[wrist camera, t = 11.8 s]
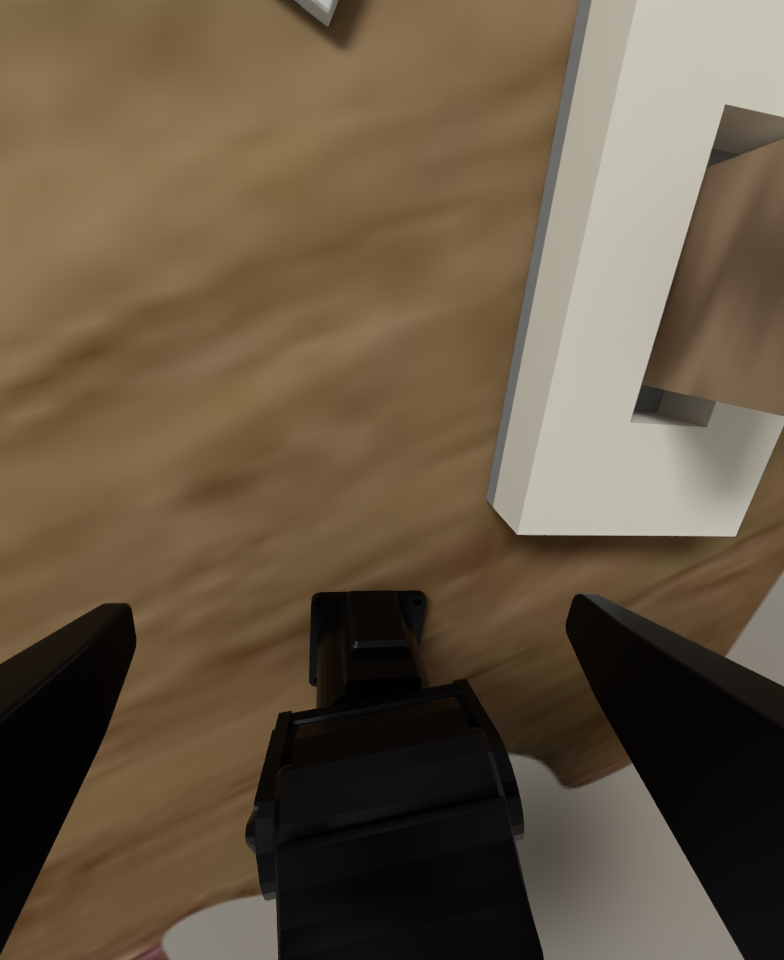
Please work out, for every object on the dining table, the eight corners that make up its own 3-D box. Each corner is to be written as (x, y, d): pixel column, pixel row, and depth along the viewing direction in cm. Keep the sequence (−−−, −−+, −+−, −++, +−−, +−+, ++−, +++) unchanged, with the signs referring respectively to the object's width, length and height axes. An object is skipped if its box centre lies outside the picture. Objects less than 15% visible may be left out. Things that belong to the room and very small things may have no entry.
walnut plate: (653, 381, 21) (871, 426, 13) (610, 377, 20) (807, 421, 12) (712, 192, 18) (1044, 90, 10) (664, 183, 18) (968, 68, 9)
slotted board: (674, 503, 25) (735, 536, 21) (485, 499, 23) (517, 534, 19) (850, 19, 17) (993, -61, 14) (589, -56, 15) (675, -174, 12)
